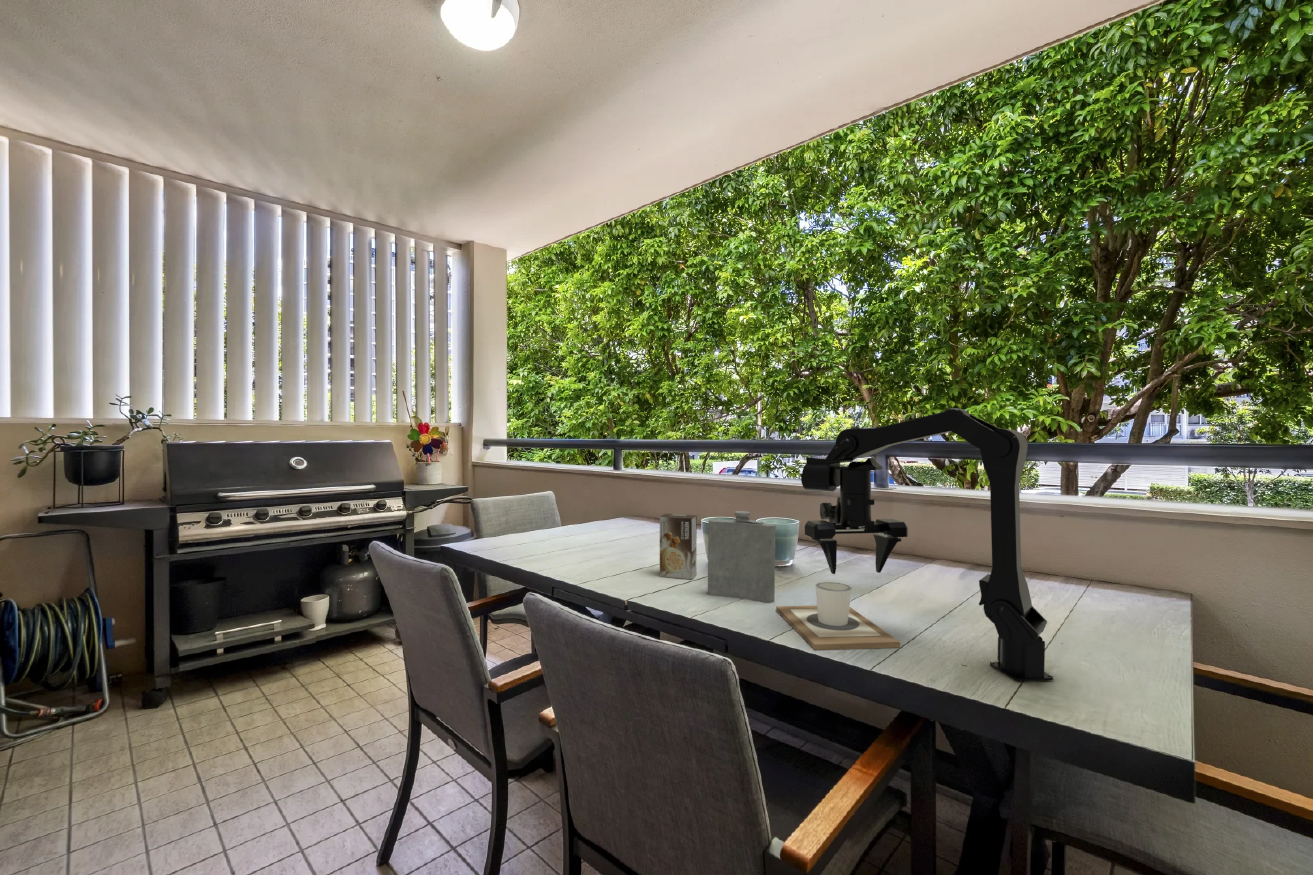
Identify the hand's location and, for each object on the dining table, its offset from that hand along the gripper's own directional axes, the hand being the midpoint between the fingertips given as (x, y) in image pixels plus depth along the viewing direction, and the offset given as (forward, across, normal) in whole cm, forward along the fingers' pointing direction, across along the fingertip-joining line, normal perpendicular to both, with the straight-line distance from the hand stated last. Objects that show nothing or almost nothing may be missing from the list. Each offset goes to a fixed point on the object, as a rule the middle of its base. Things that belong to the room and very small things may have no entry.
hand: (855, 573), depth 111 cm
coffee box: (+10, +28, -45) cm, 54 cm away
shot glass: (+10, +4, -2) cm, 11 cm away
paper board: (+11, +4, -2) cm, 12 cm away
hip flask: (+11, +17, -25) cm, 32 cm away
